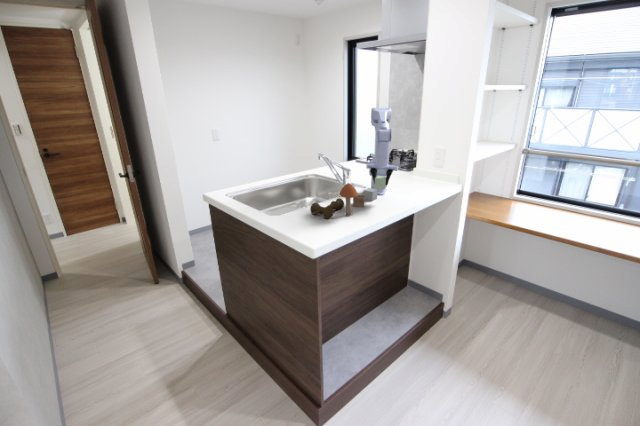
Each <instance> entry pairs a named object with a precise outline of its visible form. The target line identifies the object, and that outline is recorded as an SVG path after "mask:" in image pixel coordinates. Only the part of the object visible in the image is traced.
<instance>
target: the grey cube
mask: <svg viewBox="0 0 640 426" xmlns="http://www.w3.org/2000/svg"><path fill="white" fill-rule="evenodd" d="M363 194H365V200H364V201H369V202H374V201H375V200H378V194H377V189H372V188H371V187H368V188H366V189H364V190H363Z"/></svg>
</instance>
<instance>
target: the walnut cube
mask: <svg viewBox="0 0 640 426" xmlns="http://www.w3.org/2000/svg"><path fill="white" fill-rule="evenodd" d="M357 194H358V195H357V196H356V197H353V198H352V199H353V200H352V207H353V208H364V207H365V201H366V200H365V194H364V193H357Z"/></svg>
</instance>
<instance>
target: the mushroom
mask: <svg viewBox="0 0 640 426" xmlns="http://www.w3.org/2000/svg"><path fill="white" fill-rule="evenodd" d="M358 194H359V193H358V192H357V190H356V188H355V187H354V186H353V184H351V183H346V184H345V185H344V186H342V188H341V189H340V191H339V196H340V197H341V198H345V209H344V211H345V212H344V214H345V215H346V216H347V217H348V216H351V215H352V214H353V210H352V205H351V198H352V199H353V197H356V196H357V195H358Z"/></svg>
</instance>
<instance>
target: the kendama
mask: <svg viewBox="0 0 640 426" xmlns="http://www.w3.org/2000/svg"><path fill="white" fill-rule="evenodd" d="M344 207H345V202H344V200H343V199H342V198H336V199H335V200H332V201H331V202H330V204H328V205H327V206H321V205H320V204H319V203H318V202H313V203H312V204H311V205H310V209H309V210H310V213H311V215H318V214H319V215H323V217H324V218H325V219H326V220H329V219H331V218H333V215H334V211H337V210H338V209H339V210H342V209H344Z"/></svg>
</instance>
